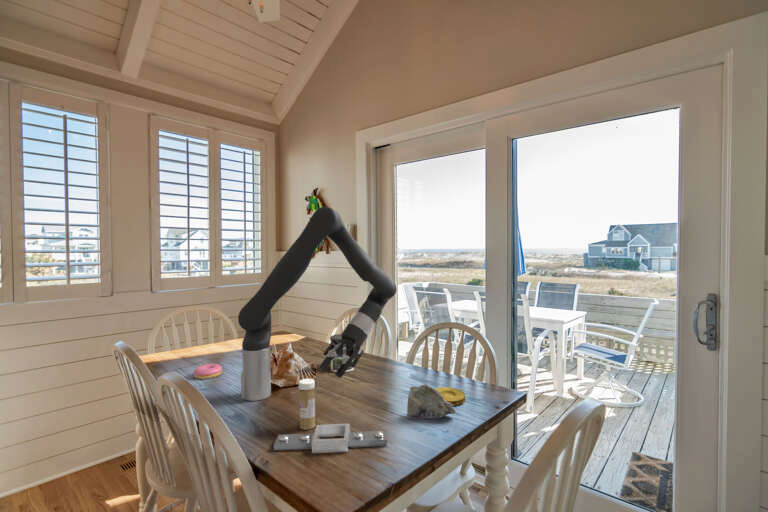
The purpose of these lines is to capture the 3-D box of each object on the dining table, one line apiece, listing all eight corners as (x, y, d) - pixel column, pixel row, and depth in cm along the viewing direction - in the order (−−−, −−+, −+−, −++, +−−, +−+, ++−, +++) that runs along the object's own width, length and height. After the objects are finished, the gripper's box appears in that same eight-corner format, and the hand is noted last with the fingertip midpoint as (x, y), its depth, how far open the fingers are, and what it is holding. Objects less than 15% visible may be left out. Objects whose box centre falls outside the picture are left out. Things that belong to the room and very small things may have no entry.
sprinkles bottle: (296, 427, 108) (295, 381, 108) (309, 421, 111) (308, 376, 111) (306, 432, 105) (305, 384, 105) (319, 426, 108) (317, 380, 108)
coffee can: (359, 369, 160) (358, 336, 160) (338, 374, 154) (337, 340, 154) (346, 363, 168) (345, 332, 168) (326, 368, 162) (325, 336, 162)
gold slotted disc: (440, 410, 118) (440, 403, 118) (423, 396, 129) (422, 390, 129) (472, 403, 122) (472, 397, 122) (452, 391, 133) (452, 385, 133)
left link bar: (273, 450, 95) (273, 442, 95) (278, 440, 100) (278, 432, 100) (313, 449, 96) (313, 440, 96) (316, 439, 101) (315, 431, 101)
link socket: (312, 453, 94) (311, 441, 94) (317, 435, 103) (316, 424, 103) (347, 451, 94) (347, 439, 94) (349, 434, 103) (349, 423, 103)
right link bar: (348, 447, 96) (348, 439, 96) (349, 437, 101) (349, 429, 101) (387, 446, 96) (386, 437, 96) (386, 436, 101) (386, 428, 101)
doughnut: (207, 381, 149) (207, 371, 149) (187, 378, 153) (187, 368, 153) (228, 373, 159) (227, 363, 159) (209, 370, 163) (208, 361, 163)
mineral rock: (457, 418, 111) (456, 384, 111) (436, 431, 104) (435, 395, 104) (423, 406, 120) (422, 375, 120) (401, 417, 113) (400, 384, 112)
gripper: (338, 320, 124) (309, 361, 117) (365, 325, 114) (335, 371, 106) (351, 333, 128) (324, 374, 120) (379, 339, 117) (350, 385, 110)
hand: (329, 373), depth 113 cm, fingers open, 8 cm apart
